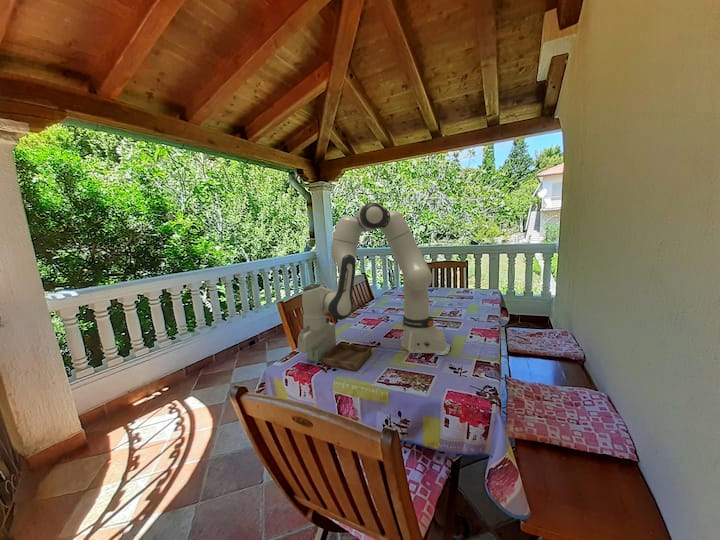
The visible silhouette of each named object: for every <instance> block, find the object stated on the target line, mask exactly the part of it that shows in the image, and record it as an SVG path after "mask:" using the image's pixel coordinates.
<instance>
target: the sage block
mask: <svg viewBox="0 0 720 540" xmlns="http://www.w3.org/2000/svg"><path fill="white" fill-rule="evenodd" d="M312 352H314V356H313V357H312V358H310V357H309V353H308V352H306V354H307V361H311V362H316V363H317V362H321V357H322V356H324V355H325V352H324V346H320V345H318V344H317V345H316V346H315V347H313V350H312Z"/></svg>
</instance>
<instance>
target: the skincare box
mask: <svg viewBox="0 0 720 540" xmlns="http://www.w3.org/2000/svg"><path fill="white" fill-rule="evenodd" d="M326 329H327V334H328V336H327V338H326V339H324V340H323V345H322V346H324V353H327V352H328V351H330V350H331V349H332V348H333V347H334V346H336V345H337V340H336V339H337V337H336V335H337V334H336V323H333V322H331V321H330V327H328V328H326Z"/></svg>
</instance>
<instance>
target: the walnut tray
mask: <svg viewBox="0 0 720 540" xmlns="http://www.w3.org/2000/svg"><path fill="white" fill-rule="evenodd" d="M372 349H373V348H372V347H368V346H363V345H362V346H361V345H355V344H352V343H351V344H350V343H343V342H338V343H336V346H334V347H333V348H332V349H331V350H330V351H328V352H325V353H324V356H322V357H321V360H320V365H322V366H328V367H331V368H335V369H340V368H341V370H346V371H352V372H356V373H357V372H358V370H360V368H361V367H362V366H363V365H364V364H365V363H366V361H367V360H369V358H370V357H371V356H372V355H373V354H372V353H373V352H372V351H373V350H372Z"/></svg>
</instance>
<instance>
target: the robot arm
mask: <svg viewBox="0 0 720 540" xmlns="http://www.w3.org/2000/svg"><path fill="white" fill-rule="evenodd" d="M376 230H380V231H381V232H382V233H383V234H384V236H385V239H386V242H387V243H388V245H389V247H390V250H391V252H392V254H393V257H394V259H395V261H396V263H397V264H398V267H399V269H400V271H401V273H402V284H403V285H402V287H403V299H404V300H403V301H404V302H403V304H404V305H403V309H404V311H403V312H404V313H403V317H402V327H403V332H402V333H403V334H402V339H401V342H400V346H401V348H403V350H406V351H407V350H408V351H409V352H410V353H409V352H408V351H407V352H408V353H409V354H411V353H435V354H441V353H442V352H444V351H445V350H446V348H447V349H448V347H447V344H446V341H447V339H446V336H445V333H444V332H443V331H442V330H441V329H439V328H438V327H437V326H435V325H434V317H431V316H430V314H429V313H430V298H429V290H428V288H429V287H430V286H431V285H432V281H433V274H432V272H431V270H430V267H429V266H428V263H427V261H426V259H425V258H424V255H423V254H422V253H423V252H421V250H420V248H419V246H418V243H417V242H416V240H415V237H414V234H413V233H412V230H411V228H410V227H409V224H408V223H407V221H406V220H405V218H404V217H403V215H402V213H401V212H400V211H398V210H388V209H386V208H384V206H382V205H381V204H379V203H377V202H369V203H368V202H367V203H366V204H365V205H363V206H362V207H360V208H359V210H358V211H357V213H356V214H355V215H354V216H351V215H344V216H342V217H340V218H339V219H338V222H337V223H336V226H335V229H334V232H333V236H332V240H331V246H330V247H331V248H330V254H331V257H332V259H333V261H334V262H335V263H336V265H337V268H338V279H337V286H336V287H337V288H336V289H330V288H327V287H325V286H323V285H321V284H320V283H319V284H318V283H315V284H314V283H313V284H309V285H306V287H304V289H303V290H302V294H301V295H302V297H301V300H302V301H301V303H302V304H301V305H302V307H301V308H302V310H303V315H302V321H303V322H302V323H303V328H302V329H301V330H300V332H299V334H298V337H297V352H299V353H302V354H307V352H308V353H309V357H310V358H312V357H313V356H314V352H312V350H313V347H315V346H316V345H320V346H322V345H323V340H324V339H326V338H327V336H328V334H327V329H326V328H328V327H330V322H331V317H332V318H333V319H335V320H338V321H341V320H342V321H343V320H345V319H347V318H348V317H350V316H351V315H352V313H353V311H354V306H355V305H354V300H353V290H354V285H355V275H356V266H357V265H356V264H357V263H356V259H357V250H358V246H359V240H360V237H361V235H362V233H364V232H365V233H367V232H371V231H376ZM326 313H328V314H330V315H331V317H330V316H325V314H326ZM446 351H447V350H446ZM442 354H444V353H442Z"/></svg>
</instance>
